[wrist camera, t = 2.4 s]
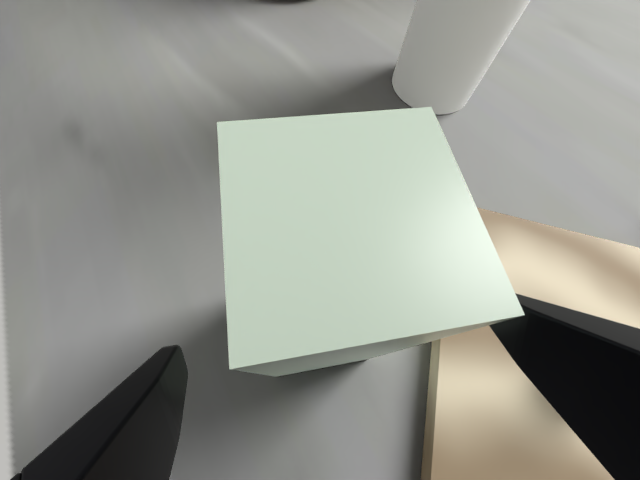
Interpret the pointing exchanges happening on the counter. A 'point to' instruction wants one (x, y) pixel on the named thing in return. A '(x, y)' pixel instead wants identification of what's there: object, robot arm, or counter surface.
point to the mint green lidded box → (349, 240)
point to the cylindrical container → (451, 50)
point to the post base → (504, 374)
